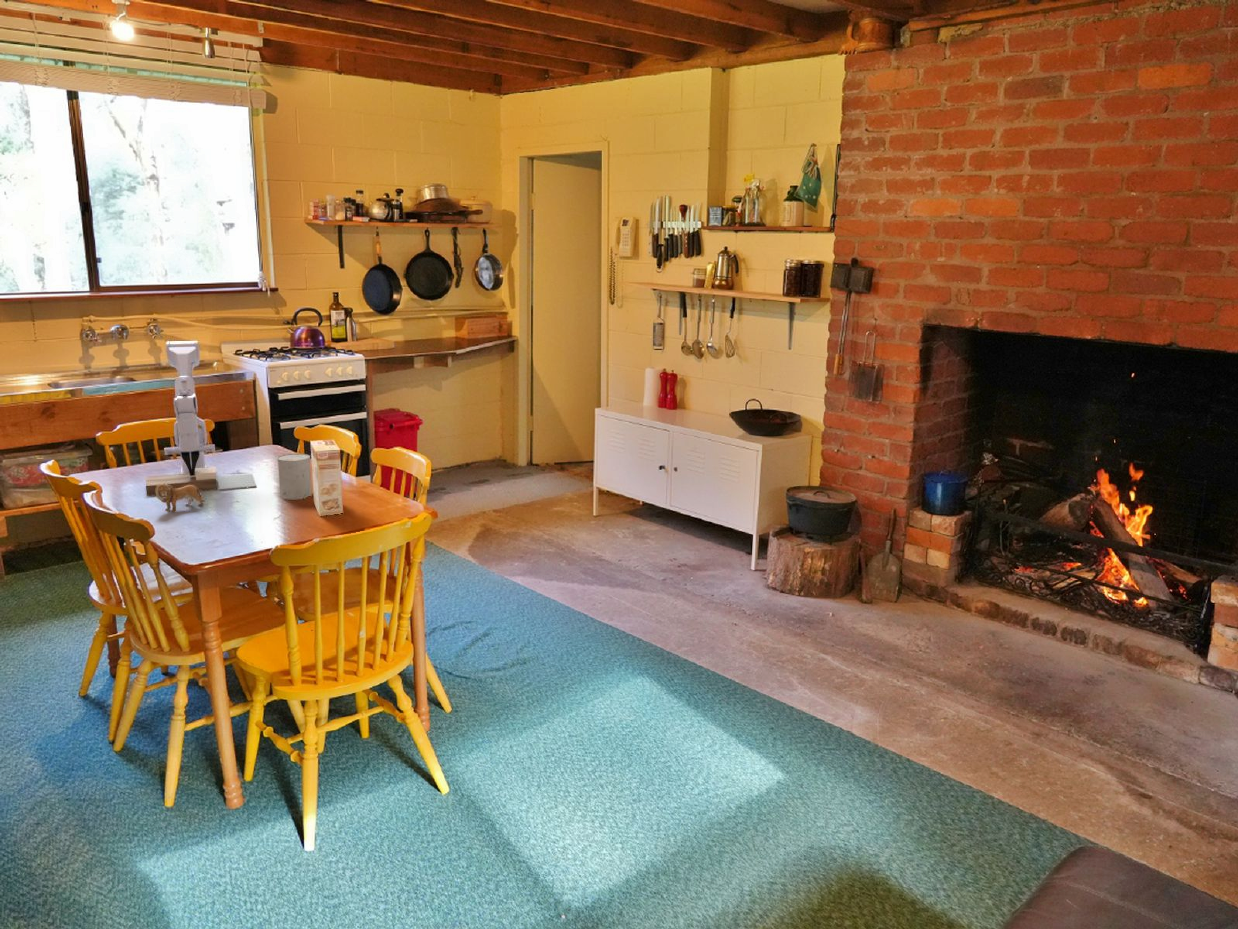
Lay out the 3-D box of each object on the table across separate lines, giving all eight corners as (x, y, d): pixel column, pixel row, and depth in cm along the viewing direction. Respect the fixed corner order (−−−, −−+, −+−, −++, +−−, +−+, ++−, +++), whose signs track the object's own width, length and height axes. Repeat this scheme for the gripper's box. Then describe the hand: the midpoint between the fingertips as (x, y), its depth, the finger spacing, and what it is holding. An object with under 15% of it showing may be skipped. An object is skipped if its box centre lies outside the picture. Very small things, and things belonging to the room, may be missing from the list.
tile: (195, 474, 301) (194, 468, 300) (215, 472, 303) (215, 466, 303) (196, 480, 294) (195, 474, 293) (216, 478, 296) (216, 472, 296)
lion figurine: (163, 516, 267) (160, 486, 265) (153, 513, 270) (149, 483, 268) (209, 504, 279) (207, 475, 277) (199, 501, 282) (196, 473, 280)
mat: (216, 478, 308) (216, 476, 308) (252, 475, 312) (252, 473, 312) (219, 490, 294) (219, 489, 294) (256, 487, 298) (256, 485, 298)
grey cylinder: (275, 494, 291) (273, 455, 288) (306, 489, 297) (303, 452, 294) (285, 501, 284) (283, 462, 281) (316, 496, 290) (314, 458, 287)
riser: (147, 485, 297) (146, 476, 297) (215, 479, 306) (214, 471, 305) (146, 495, 287) (145, 486, 286) (217, 489, 295) (216, 480, 295)
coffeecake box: (344, 514, 273) (340, 449, 268) (318, 516, 270) (314, 451, 265) (337, 500, 286) (334, 438, 281) (313, 503, 283) (309, 440, 278)
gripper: (162, 437, 287) (167, 480, 290) (213, 434, 293) (217, 475, 296) (162, 432, 293) (167, 474, 296) (212, 429, 299) (216, 470, 302)
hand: (192, 474), depth 297 cm, fingers closed
